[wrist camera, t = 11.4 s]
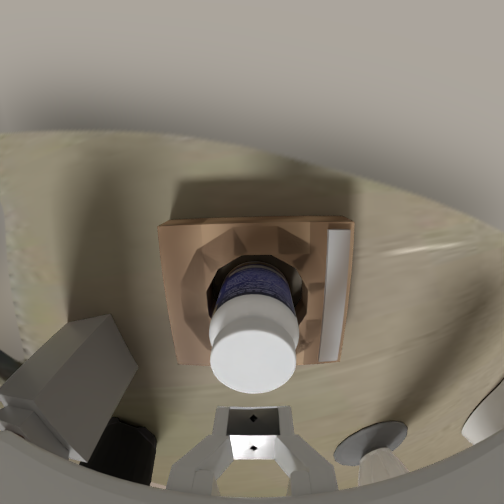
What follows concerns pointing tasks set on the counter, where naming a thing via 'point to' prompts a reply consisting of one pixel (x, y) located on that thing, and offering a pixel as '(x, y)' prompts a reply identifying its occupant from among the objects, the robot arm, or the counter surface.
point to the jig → (258, 243)
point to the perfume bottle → (69, 388)
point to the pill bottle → (254, 329)
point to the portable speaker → (124, 453)
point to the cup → (374, 452)
